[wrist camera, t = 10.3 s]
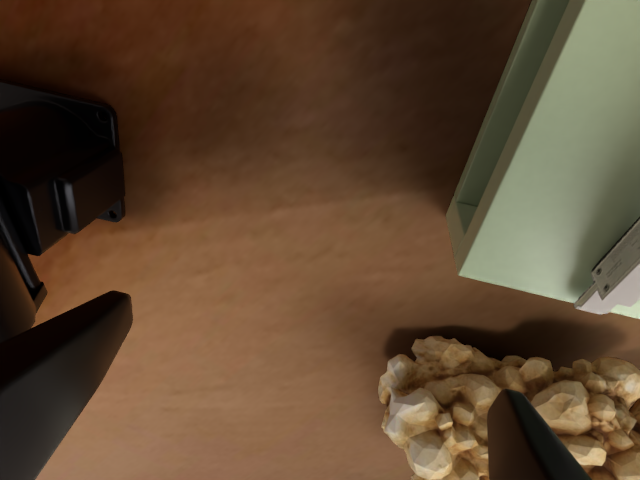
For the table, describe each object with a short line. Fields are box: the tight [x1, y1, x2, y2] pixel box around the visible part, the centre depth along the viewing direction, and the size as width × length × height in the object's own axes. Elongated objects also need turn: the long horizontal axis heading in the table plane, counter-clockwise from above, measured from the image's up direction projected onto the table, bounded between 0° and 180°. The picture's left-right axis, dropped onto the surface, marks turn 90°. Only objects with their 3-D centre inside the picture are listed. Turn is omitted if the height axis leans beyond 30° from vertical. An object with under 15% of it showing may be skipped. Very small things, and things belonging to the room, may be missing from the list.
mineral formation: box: [378, 336, 640, 480], centre depth 23 cm, size 8×13×15 cm
